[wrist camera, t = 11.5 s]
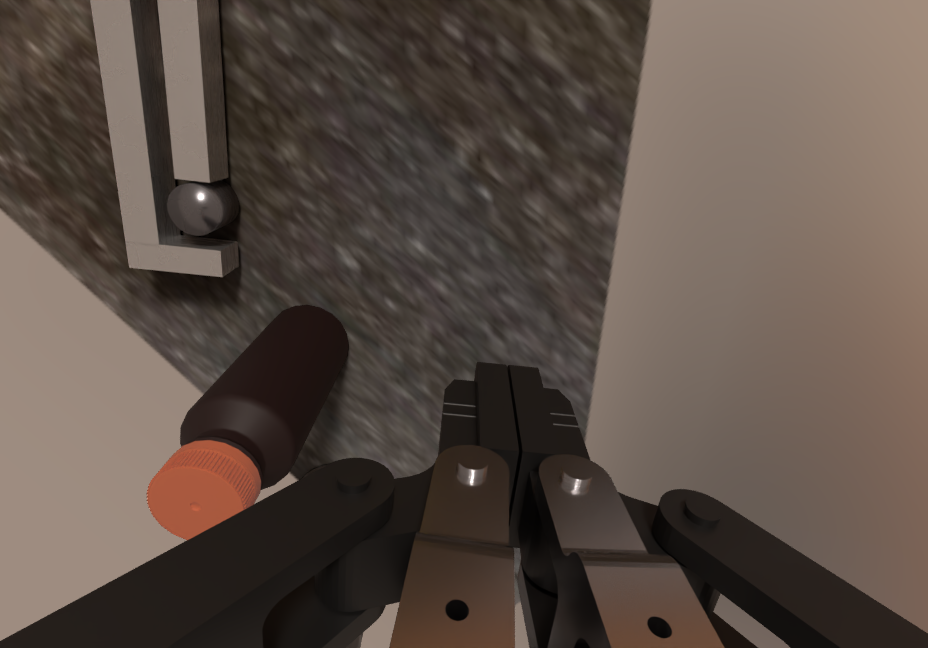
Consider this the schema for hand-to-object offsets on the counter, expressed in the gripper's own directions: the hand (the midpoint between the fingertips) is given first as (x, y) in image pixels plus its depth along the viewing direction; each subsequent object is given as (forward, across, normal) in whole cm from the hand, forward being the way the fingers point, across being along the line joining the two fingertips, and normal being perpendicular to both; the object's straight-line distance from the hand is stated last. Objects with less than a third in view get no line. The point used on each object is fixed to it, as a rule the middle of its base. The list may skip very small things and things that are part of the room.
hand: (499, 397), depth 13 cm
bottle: (+29, +13, +13) cm, 35 cm away
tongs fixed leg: (+28, +22, -5) cm, 36 cm away
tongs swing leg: (+29, +20, -7) cm, 35 cm away
